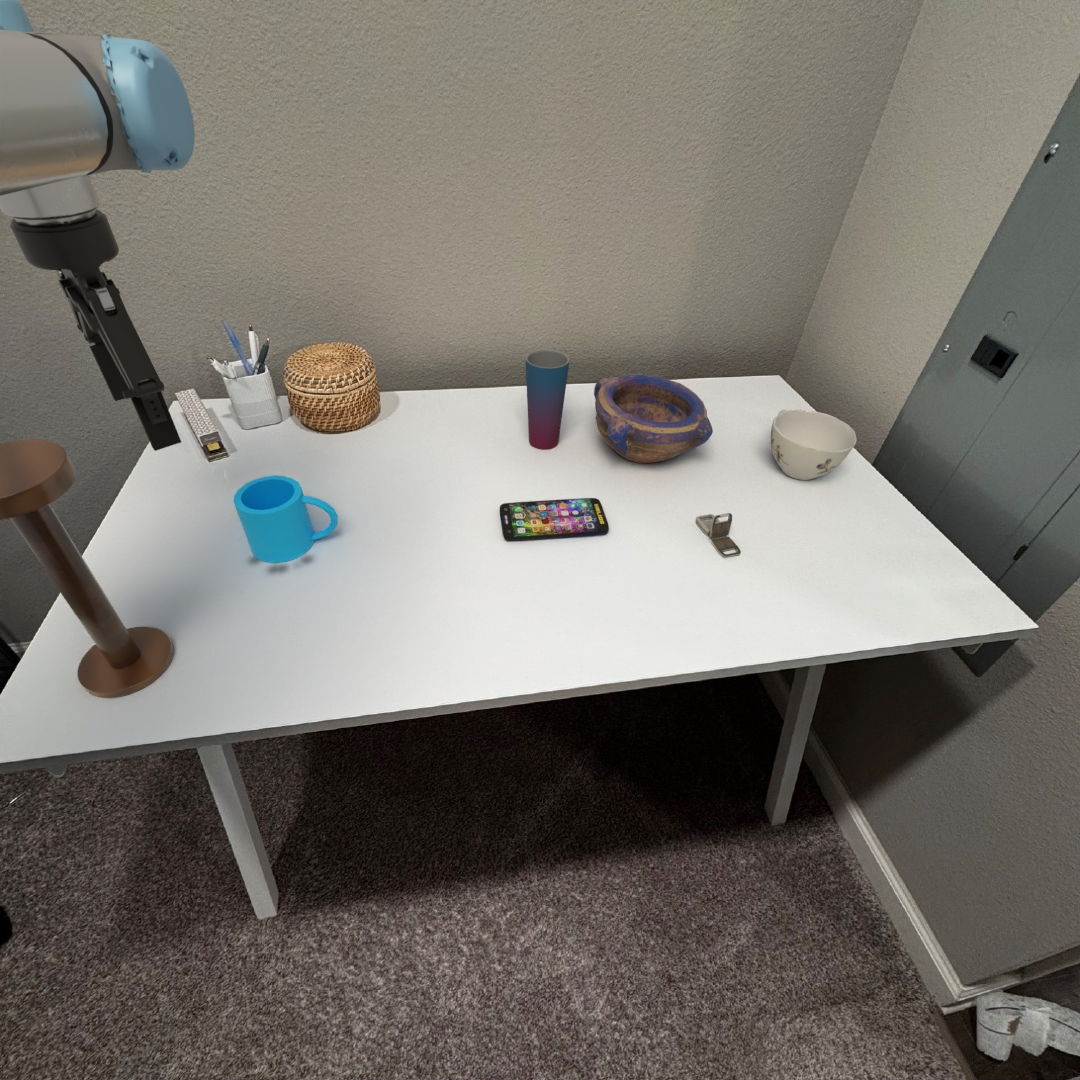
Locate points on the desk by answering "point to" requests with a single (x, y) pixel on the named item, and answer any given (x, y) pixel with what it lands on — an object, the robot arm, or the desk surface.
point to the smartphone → (553, 519)
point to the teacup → (810, 442)
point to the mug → (279, 518)
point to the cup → (545, 395)
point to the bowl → (649, 417)
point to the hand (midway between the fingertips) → (146, 419)
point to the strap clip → (718, 532)
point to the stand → (76, 571)
